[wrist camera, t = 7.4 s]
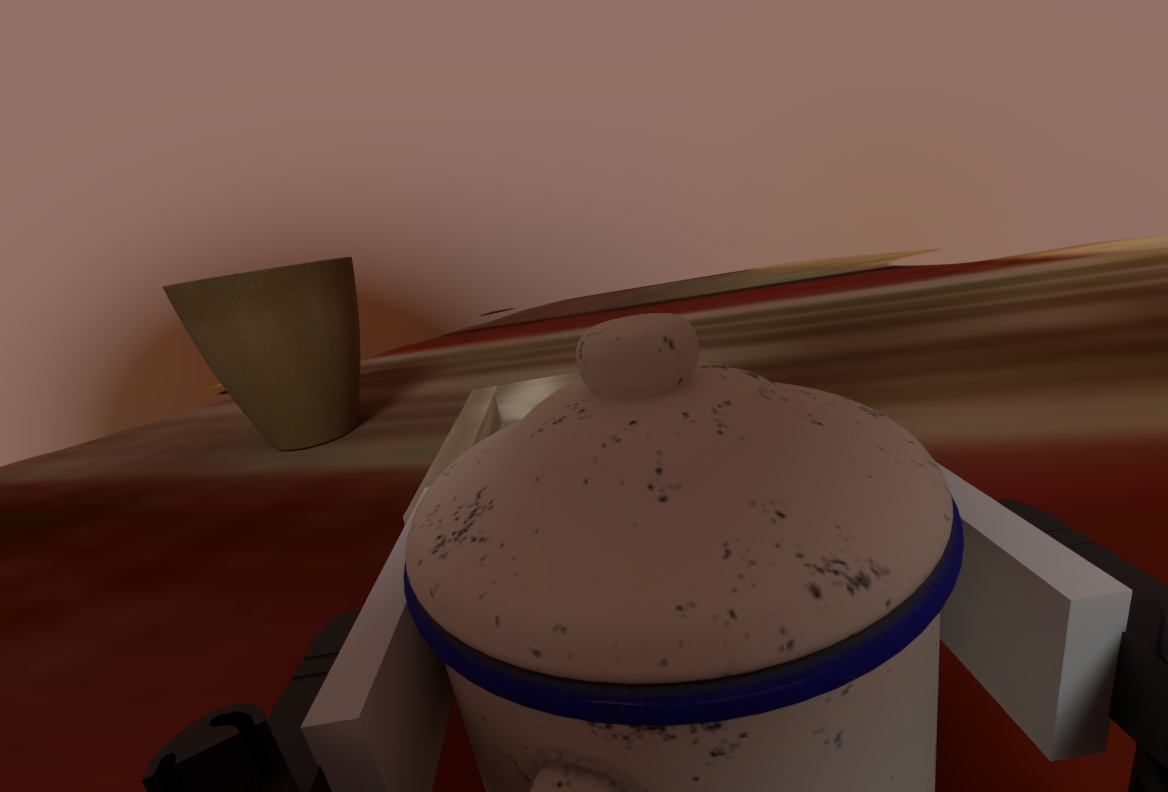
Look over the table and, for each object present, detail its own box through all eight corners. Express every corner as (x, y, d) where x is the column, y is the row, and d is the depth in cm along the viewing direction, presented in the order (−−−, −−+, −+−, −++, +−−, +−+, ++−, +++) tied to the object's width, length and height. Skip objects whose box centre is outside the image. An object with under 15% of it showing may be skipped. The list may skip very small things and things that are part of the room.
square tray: (686, 401, 45) (681, 354, 44) (776, 532, 26) (771, 456, 25) (483, 435, 45) (472, 389, 44) (424, 590, 26) (402, 517, 25)
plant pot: (394, 439, 48) (340, 254, 43) (208, 486, 45) (126, 291, 40) (398, 397, 62) (357, 253, 57) (256, 430, 58) (199, 280, 53)
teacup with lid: (595, 643, 18) (521, 298, 15) (910, 695, 15) (914, 249, 11) (303, 1254, 8) (-182, 595, 4) (1127, 1971, 4) (2397, 1470, 1)
